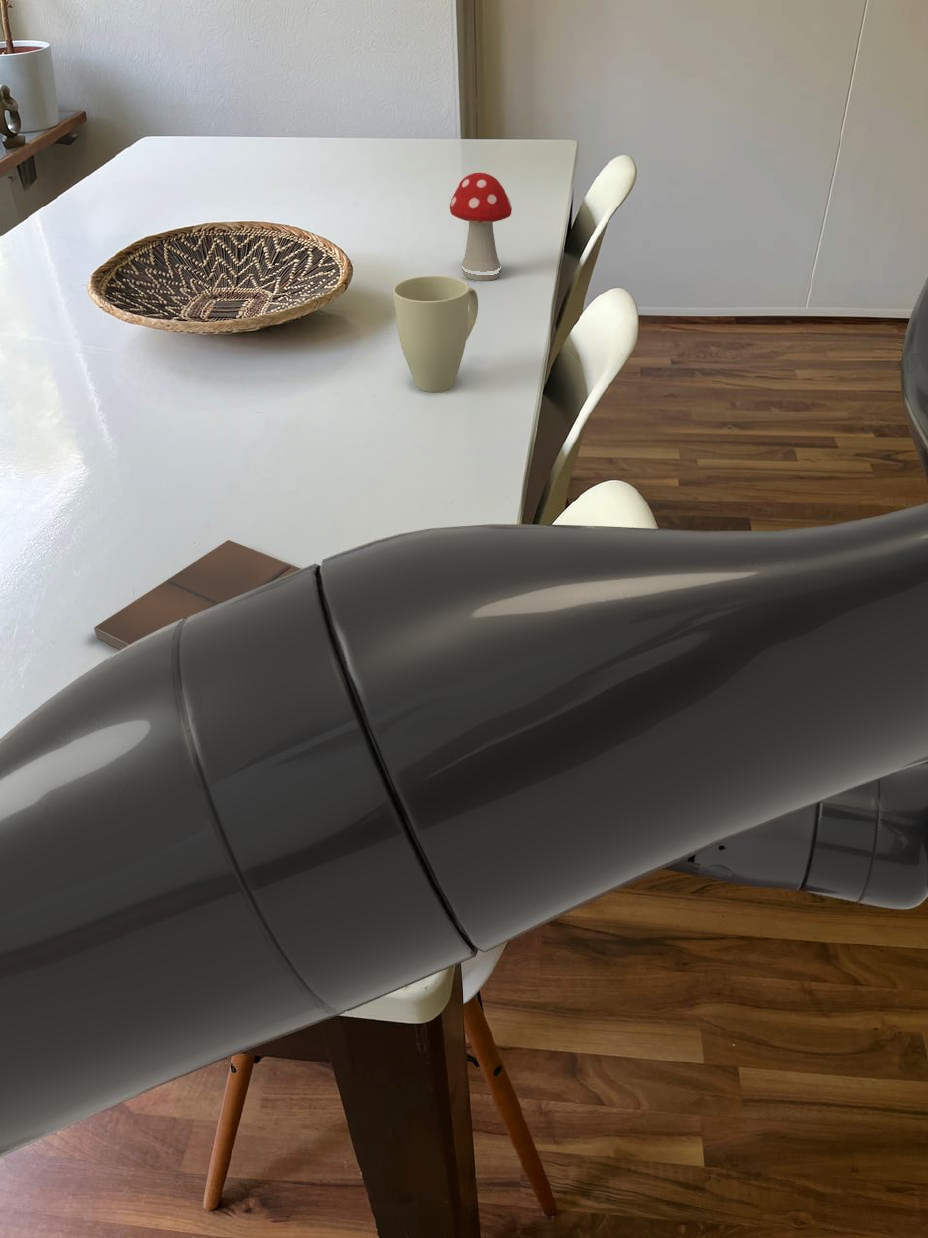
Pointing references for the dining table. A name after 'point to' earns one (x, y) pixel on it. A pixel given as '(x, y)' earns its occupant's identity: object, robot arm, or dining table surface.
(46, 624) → the dining table surface
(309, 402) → the dining table surface
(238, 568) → the board
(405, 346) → the mug
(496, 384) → the dining table surface
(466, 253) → the decorative mushroom
